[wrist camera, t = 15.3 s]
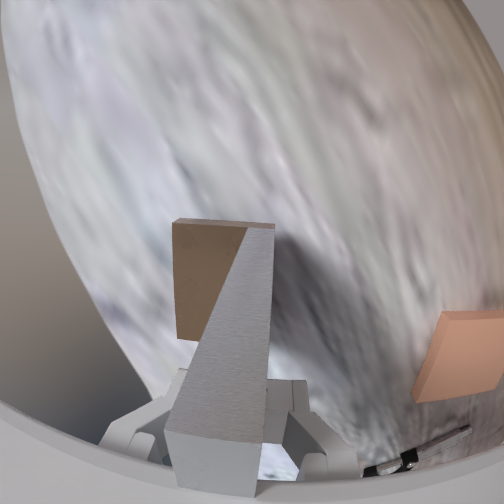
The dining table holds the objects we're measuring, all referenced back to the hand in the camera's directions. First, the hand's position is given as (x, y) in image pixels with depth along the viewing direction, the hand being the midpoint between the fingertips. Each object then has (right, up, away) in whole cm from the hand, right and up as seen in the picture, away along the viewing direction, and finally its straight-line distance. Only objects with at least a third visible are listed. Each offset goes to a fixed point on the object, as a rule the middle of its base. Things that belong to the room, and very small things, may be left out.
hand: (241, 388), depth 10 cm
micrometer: (+21, -21, +18) cm, 35 cm away
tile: (+16, -4, +12) cm, 20 cm away
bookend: (-1, +3, +10) cm, 10 cm away
